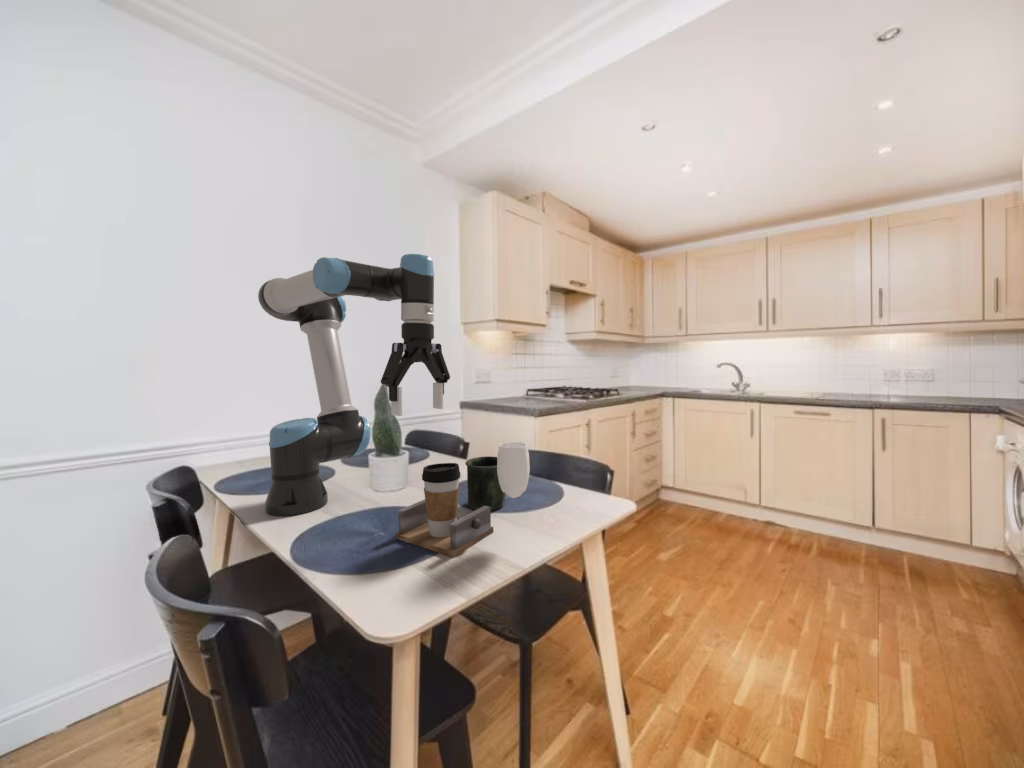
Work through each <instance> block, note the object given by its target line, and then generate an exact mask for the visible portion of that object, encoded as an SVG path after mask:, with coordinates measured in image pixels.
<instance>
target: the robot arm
mask: <svg viewBox="0 0 1024 768" xmlns="http://www.w3.org/2000/svg"><path fill="white" fill-rule="evenodd" d="M434 271H435V269H434V261H433V258H431V257H430V256H428V255H426V254H419V253H406V254H403V255H402V256H401V258H400V264H399V267H393V268H390V267H383V266H382V267H381V266H377V265H371V264H365V263H359V262H355V261H349V260H345V259H341V258H337V257H325V256H324V257H320V258H318V259H317V260H316V262H315V263H314V265H313V268H312V269H311V270H307V271H305V272H301V273H299V274H296V275H293V276H290V277H288V278H285V277H284V278H283V277H276V278H272V279H269V280H267V281H265V282H264V283H263V284H262V285H261V286H260V288H259V291H258V293H257V297H258V298H257V299H258V302H259V306H261V308H262V309H263V310H264V312H265V313H267V314H268V315H269V316H271V317H273V318H274V319H276V320H277V319H278V320H281V321H286V322H297V323H298V325H299V330H300V331H301V332H303V333H304V334H305V335H306V336H307V342H308V347H309V352H310V357H311V363H312V368H313V375H314V379H315V384H316V390H317V395H318V396H317V397H318V401H319V404H320V405H319V406H320V412H319V413H318V414H317V416H316V418H314V417H303V418H297V419H291V420H288V421H283V422H281V423H277V424H276V425H274V426H272V428H271V429H270V431H269V442H268V446H269V456H270V471H271V472H270V473H271V484H270V486H269V489H268V492H267V493H268V494H267V496H266V499H265V504H264V506H265V513H266V514H268V515H272V516H276V517H277V516H279V517H280V516H281V517H283V516H294V515H302V514H305V513H310V512H312V511H316V510H318V509H320V508H322V507H325V505H327V504H328V503H329V500H328V499H329V498H328V492H327V488H326V487H325V484H324V482H323V480H322V477H321V475H320V474H321V473H320V464H324V463H327V462H333V461H337V460H342V459H351V458H352V457H355V456H356V457H357V456H359V455H362V454H364V452H365V451H366V450H367V448H368V447H369V444H370V441H371V437H372V435H371V434H372V433H371V431H372V430H371V425H370V423H369V421H368V419H367V418H366V417H364V416H361V415H360V414H359V409H358V408H356V407H355V406H353V405H352V400H351V395H350V390H349V385H348V380H347V379H348V378H347V374H346V369H345V363H344V359H343V354H342V348H341V345H340V338H339V334H338V333H339V329H340V328H341V327H342V323H343V322H344V320H345V318H346V315H347V314H346V312H347V305H346V304H347V303H346V300H345V298H344V296H352V297H353V296H354V297H363V298H370V299H371V298H372V299H375V300H377V301H380V302H382V301H383V302H392V301H395V300H396V301H397V300H400V306H401V307H400V313H401V314H400V315H401V316H400V319H401V322H403V323H401V327H400V328H401V338H402V340H403V342H393V343H391V344H392V345H391V353H390V356H389V357H388V361H387V363H386V366H385V368H384V371H383V374H382V377H381V379H380V384H382V385H384V386H386V387H388V401H390V415H391V416H395V417H402V416H403V395H402V394H403V387H402V386H399V385H400V384H401V382H402V381H403V379H404V378H405V376H406V375H407V372H408V371H409V369H410V368H411V366H412V365H413V364H414V363H422V364H424V365H425V366H426V368H427V370H428V372H429V373H430V375H431V377H432V378H433V380H434V381H435V382H432V408H433V409H437V410H443V409H444V395H445V384H447V383H448V381H449V380H450V379H451V375H450V373H449V369H448V366H447V363H446V360H445V357H444V355H443V352H442V351H443V350H442V349H443V348H442V344H441V343H432V340H434V339H435V325H434V324H433V323H432V322H434V321H435V315H434V312H435V309H434V304H435V301H434V299H435V297H434V295H435V293H434V292H435V287H434V286H435V272H434Z"/></svg>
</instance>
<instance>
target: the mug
mask: <svg viewBox="0 0 1024 768" xmlns="http://www.w3.org/2000/svg"><path fill="white" fill-rule="evenodd" d="M497 457H498V456H479V457H473V458H469V459H468V460H466V461H465V465H466V473H467V474H466V477H467V479H466V480H467V481H466V482H467V505H468V507H469V508H470V509H472V510H474V511H475V510H477V509H479V508H481V507H483V506H488V507H490V512H491V511H495V510H498V509H500V508H503V507H504V505H505V503H506V493H504V492H503V491H502V490H501V487H500V484H499V479H498V474H497Z"/></svg>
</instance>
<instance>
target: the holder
mask: <svg viewBox="0 0 1024 768" xmlns="http://www.w3.org/2000/svg"><path fill="white" fill-rule="evenodd" d="M397 515H398V517H397V518H398V532H397V533H395V539H396V538H397V539H401V540H403V541H407V542H410V543H412V544H415V545H418V546H421V547H424V548H423V549H425V548H427V549H426V550H428V549H430V550H429V551H431V550H433V551H432V552H434V551H436V552H435V553H437V552H438V553H437V554H441V555H445V556H447V557H450V558H455V557H457V556H458V555H460V554H461V553H463V552H466V550H467V549H470V548H471V547H472V546H474V545H475V544H477V543H478V542H481V540H484V539H485V538H487V537H488V536H490V535H492V534H493V533H494V526H492V525H491V523H492V522H491V520H492V519H491V518H492V517H491V515H492V514H491V511H490V507H488V506H483V507H481V508H479V509H477V510H474V511H472V512H470V513H468V514H466V515H464V516H462V517H461V518H459V517H457V521H455V522H453V523H451V524H450V536H448V537H433V536H431V535H430V533H429V525H428V517H427V509H426V501H425V498H424V499H422V500H421V501H418V502H415V503H412V504H411V505H408V506H406V507H403V508H400V509H399V510H397ZM403 541H402V542H403ZM412 544H411V545H412ZM415 545H414V546H415ZM418 546H417V547H418ZM421 547H420V548H421Z"/></svg>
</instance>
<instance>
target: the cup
mask: <svg viewBox="0 0 1024 768" xmlns="http://www.w3.org/2000/svg"><path fill="white" fill-rule="evenodd" d="M528 447H529V446H528V444H527V443H526V442H519V441H509V442H502V443H500V444H499V445H498V451H497V456H496V457H497V474H498V479H499V484H500V487H501V490H502V491H503V492H504V493H505V495H507V497H509V498H513V499H516V498H518V497H520V496H521V495H522V494H523V493H525V492H526V491H527V489H528V488H527V487H528V485H529V479H530V471H531V468H530V466H531V465H530V454H529V449H528Z"/></svg>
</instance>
